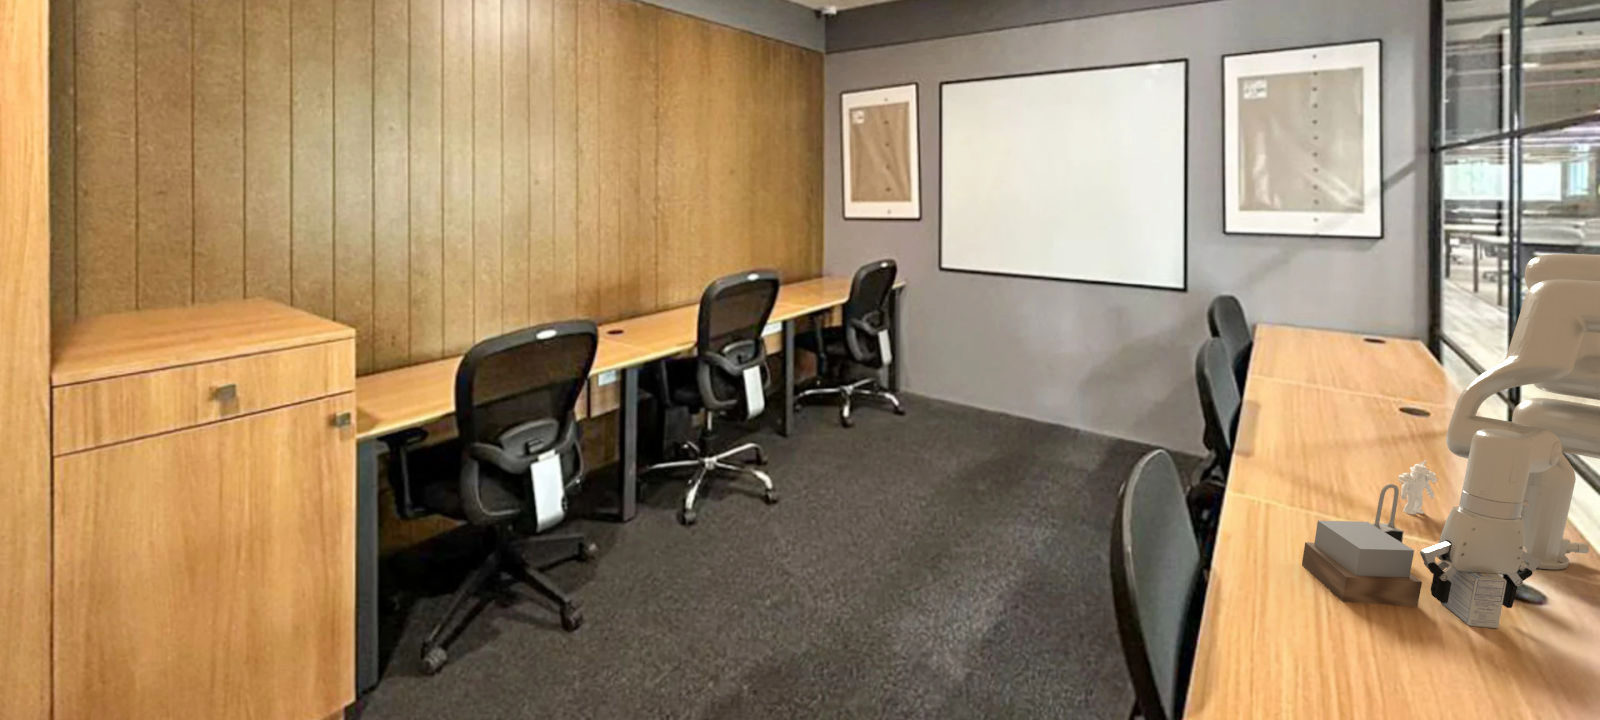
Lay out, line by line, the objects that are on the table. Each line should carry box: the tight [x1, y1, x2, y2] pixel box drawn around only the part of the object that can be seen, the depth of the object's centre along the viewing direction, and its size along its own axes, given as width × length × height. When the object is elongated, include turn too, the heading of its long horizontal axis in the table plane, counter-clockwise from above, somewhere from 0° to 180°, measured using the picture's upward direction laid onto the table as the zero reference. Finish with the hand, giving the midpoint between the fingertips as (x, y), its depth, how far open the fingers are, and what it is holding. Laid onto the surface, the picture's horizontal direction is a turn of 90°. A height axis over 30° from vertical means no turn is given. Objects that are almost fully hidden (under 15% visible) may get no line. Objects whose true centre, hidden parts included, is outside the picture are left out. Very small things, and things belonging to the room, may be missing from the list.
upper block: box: [1313, 520, 1415, 577], centre depth 140 cm, size 9×12×5 cm
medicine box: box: [1441, 566, 1506, 629], centre depth 131 cm, size 8×4×9 cm, turn 168°
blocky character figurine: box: [1398, 458, 1439, 516], centre depth 174 cm, size 9×4×12 cm, turn 102°
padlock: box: [1371, 483, 1404, 543], centre depth 151 cm, size 7×4×15 cm, turn 101°
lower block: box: [1301, 541, 1423, 608], centre depth 141 cm, size 12×14×5 cm
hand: (1470, 601), depth 131 cm, fingers open, 9 cm apart
